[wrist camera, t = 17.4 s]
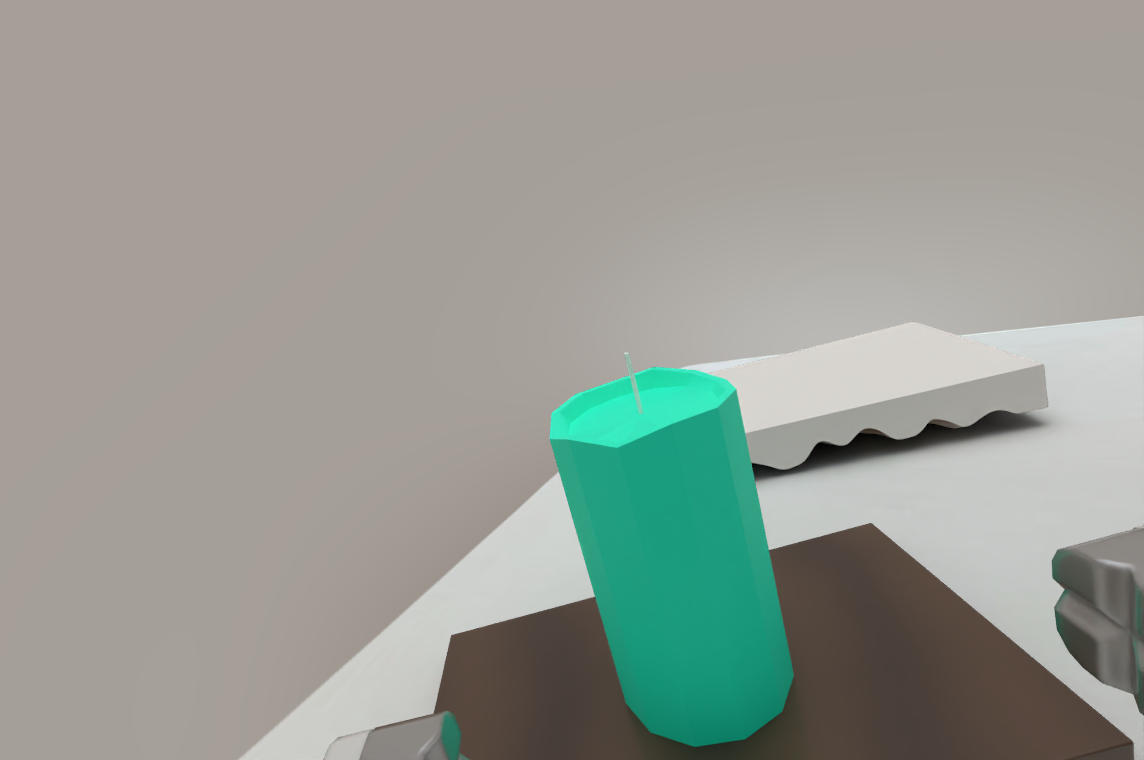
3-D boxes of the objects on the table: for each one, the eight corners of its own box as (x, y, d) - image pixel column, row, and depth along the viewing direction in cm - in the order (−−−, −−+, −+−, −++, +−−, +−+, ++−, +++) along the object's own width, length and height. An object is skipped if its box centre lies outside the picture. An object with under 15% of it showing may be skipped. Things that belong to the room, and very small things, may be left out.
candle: (640, 615, 24) (567, 345, 21) (791, 615, 22) (731, 313, 19) (604, 739, 19) (500, 400, 16) (797, 755, 17) (717, 364, 14)
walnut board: (394, 968, 15) (382, 942, 15) (457, 652, 27) (450, 634, 26) (1135, 772, 15) (1135, 741, 15) (874, 541, 27) (871, 522, 26)
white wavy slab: (697, 496, 36) (1049, 420, 32) (684, 447, 35) (1043, 363, 32) (677, 419, 50) (920, 361, 47) (668, 383, 49) (913, 321, 46)
